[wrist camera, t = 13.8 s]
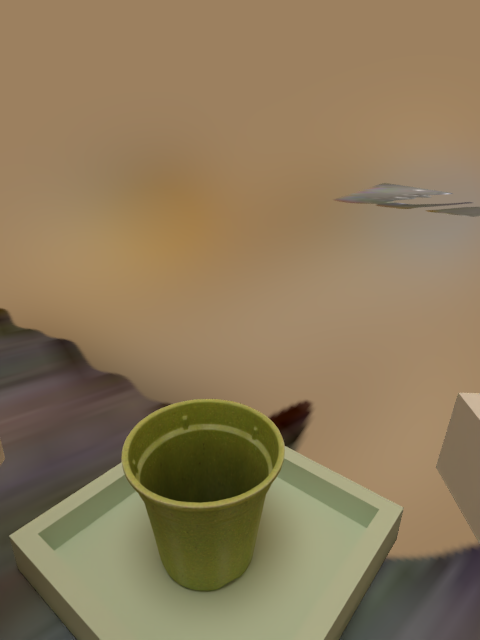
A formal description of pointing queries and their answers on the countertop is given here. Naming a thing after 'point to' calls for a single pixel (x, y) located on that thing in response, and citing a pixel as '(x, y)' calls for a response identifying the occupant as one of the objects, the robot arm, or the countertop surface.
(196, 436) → the plant pot
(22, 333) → the countertop surface
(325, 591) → the tray
